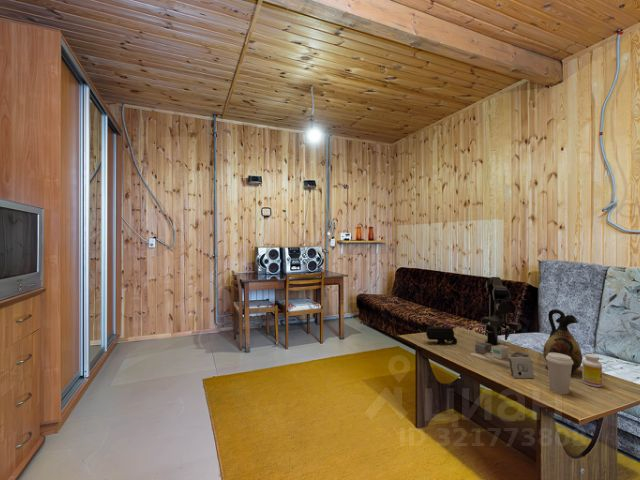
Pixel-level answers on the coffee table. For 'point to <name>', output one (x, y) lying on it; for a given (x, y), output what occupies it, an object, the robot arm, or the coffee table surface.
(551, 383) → the coffee cup
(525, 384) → the coffee table surface
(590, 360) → the supplement bottle
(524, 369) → the electrical switch
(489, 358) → the rail panel
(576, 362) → the ceramic jug
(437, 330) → the security camera
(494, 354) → the module block
